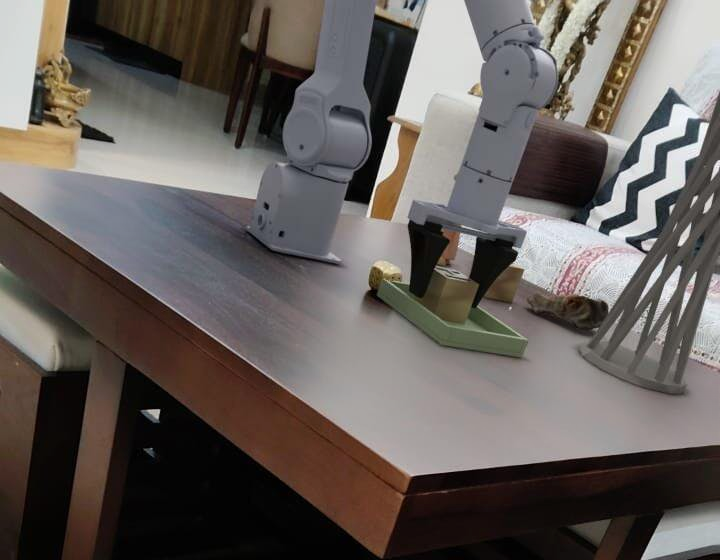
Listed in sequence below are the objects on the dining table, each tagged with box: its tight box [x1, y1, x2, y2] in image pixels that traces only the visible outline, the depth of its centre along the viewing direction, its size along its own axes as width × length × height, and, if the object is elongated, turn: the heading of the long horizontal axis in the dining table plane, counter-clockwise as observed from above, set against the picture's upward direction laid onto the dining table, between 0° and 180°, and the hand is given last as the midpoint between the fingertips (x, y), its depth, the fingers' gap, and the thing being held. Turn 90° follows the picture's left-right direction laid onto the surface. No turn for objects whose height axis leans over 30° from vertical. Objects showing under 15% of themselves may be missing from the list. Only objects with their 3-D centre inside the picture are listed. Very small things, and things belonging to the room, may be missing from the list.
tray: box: [376, 278, 530, 358], centre depth 110 cm, size 11×14×2 cm
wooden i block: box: [483, 262, 526, 304], centre depth 131 cm, size 4×4×5 cm
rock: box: [526, 292, 610, 331], centre depth 131 cm, size 9×6×10 cm
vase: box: [578, 90, 720, 395], centre depth 112 cm, size 14×13×35 cm
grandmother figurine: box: [437, 172, 462, 267], centre depth 138 cm, size 8×4×13 cm, turn 168°
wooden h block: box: [414, 265, 479, 324], centre depth 110 cm, size 4×4×5 cm
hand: (442, 299), depth 111 cm, fingers open, 7 cm apart
